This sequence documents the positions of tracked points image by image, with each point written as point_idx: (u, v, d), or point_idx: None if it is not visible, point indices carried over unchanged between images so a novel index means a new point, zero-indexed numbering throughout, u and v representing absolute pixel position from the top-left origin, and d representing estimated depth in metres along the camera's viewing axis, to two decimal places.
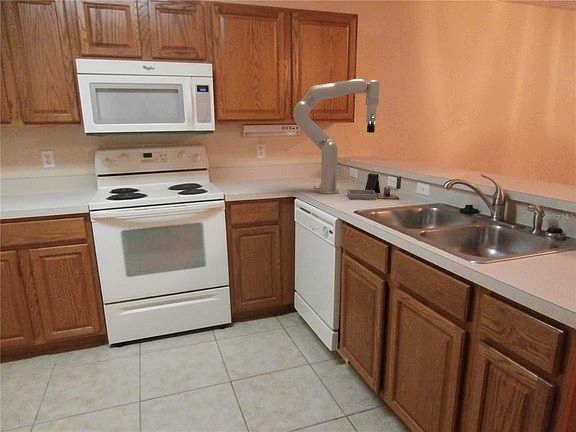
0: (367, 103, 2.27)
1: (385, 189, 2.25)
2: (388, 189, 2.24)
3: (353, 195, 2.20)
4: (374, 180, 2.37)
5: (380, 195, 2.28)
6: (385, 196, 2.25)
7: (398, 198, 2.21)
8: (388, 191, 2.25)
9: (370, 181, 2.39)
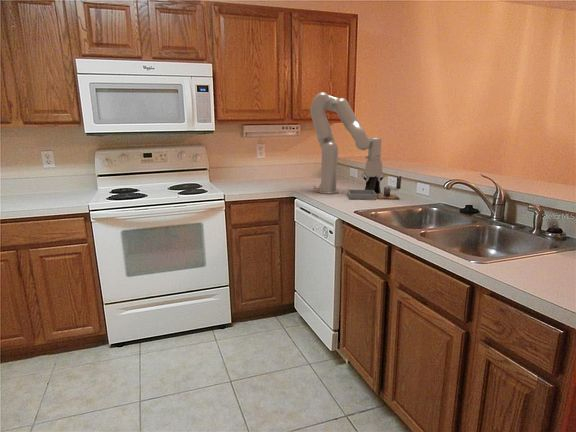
0: (378, 159, 2.34)
1: (385, 189, 2.25)
2: (388, 189, 2.24)
3: (353, 195, 2.20)
4: (374, 180, 2.37)
5: (380, 195, 2.28)
6: (385, 196, 2.25)
7: (398, 198, 2.21)
8: (388, 191, 2.25)
9: (370, 181, 2.39)
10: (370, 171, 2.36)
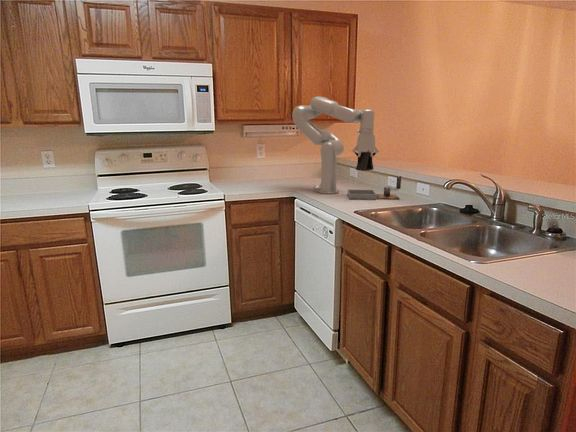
0: (371, 133, 2.19)
1: (385, 189, 2.25)
2: (388, 189, 2.24)
3: (353, 195, 2.20)
4: (366, 155, 2.22)
5: (380, 195, 2.28)
6: (385, 196, 2.25)
7: (398, 198, 2.21)
8: (388, 191, 2.25)
9: (362, 157, 2.24)
10: (362, 146, 2.21)
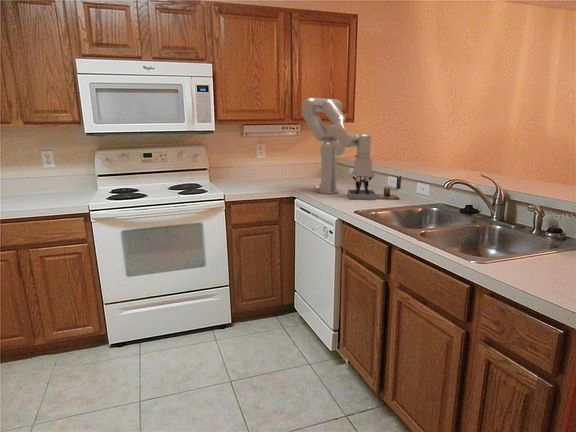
0: (367, 158, 2.20)
1: (385, 189, 2.25)
2: (388, 189, 2.24)
3: (353, 195, 2.20)
4: (359, 182, 2.24)
5: (380, 195, 2.28)
6: (385, 196, 2.25)
7: (398, 198, 2.21)
8: (388, 191, 2.25)
9: None
10: (359, 170, 2.22)
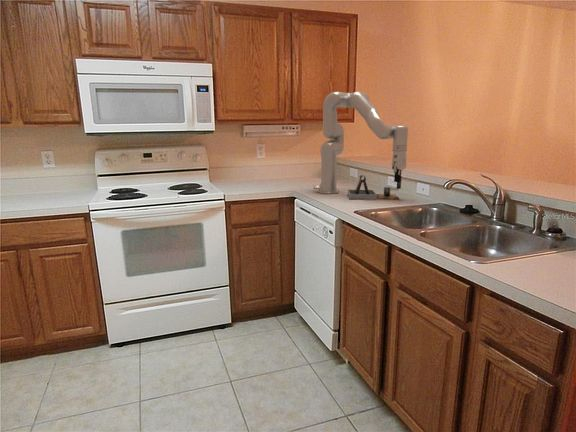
0: None
1: (385, 189, 2.25)
2: (388, 189, 2.24)
3: (353, 195, 2.20)
4: (359, 182, 2.24)
5: (380, 195, 2.28)
6: (385, 196, 2.25)
7: (398, 198, 2.21)
8: (388, 191, 2.25)
9: (358, 183, 2.27)
10: (402, 163, 2.13)
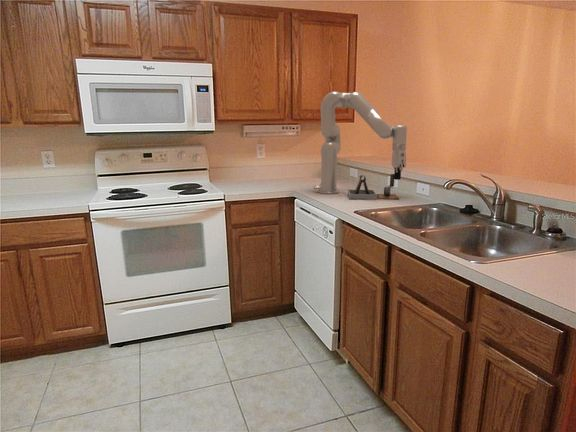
0: None
1: (389, 189, 2.25)
2: None
3: (353, 195, 2.20)
4: (359, 182, 2.24)
5: (380, 195, 2.28)
6: (385, 196, 2.25)
7: (398, 198, 2.21)
8: None
9: (358, 183, 2.27)
10: None
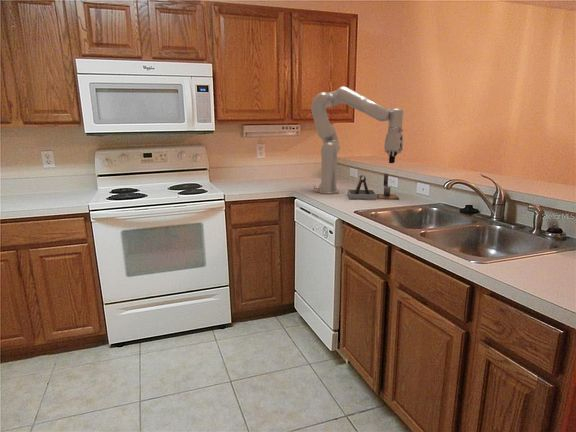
0: None
1: None
2: None
3: (353, 195, 2.20)
4: (359, 182, 2.24)
5: (380, 195, 2.28)
6: (385, 196, 2.25)
7: (398, 198, 2.21)
8: None
9: (358, 183, 2.27)
10: None
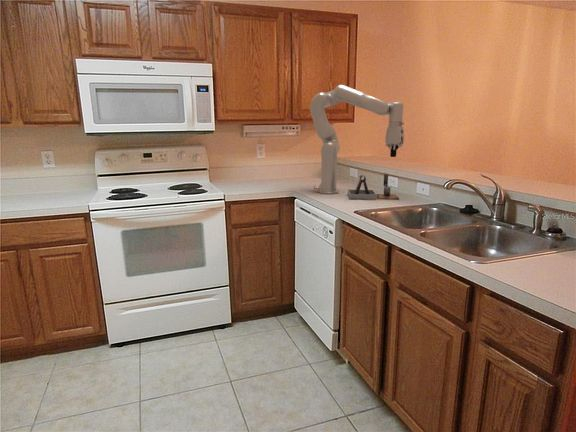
0: None
1: None
2: None
3: (353, 195, 2.20)
4: (359, 182, 2.24)
5: (380, 195, 2.28)
6: (385, 196, 2.25)
7: (398, 198, 2.21)
8: None
9: (358, 183, 2.27)
10: None
